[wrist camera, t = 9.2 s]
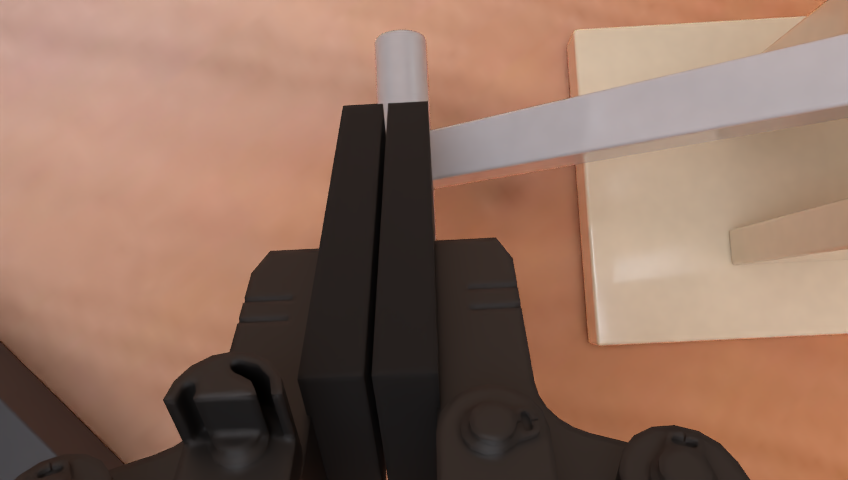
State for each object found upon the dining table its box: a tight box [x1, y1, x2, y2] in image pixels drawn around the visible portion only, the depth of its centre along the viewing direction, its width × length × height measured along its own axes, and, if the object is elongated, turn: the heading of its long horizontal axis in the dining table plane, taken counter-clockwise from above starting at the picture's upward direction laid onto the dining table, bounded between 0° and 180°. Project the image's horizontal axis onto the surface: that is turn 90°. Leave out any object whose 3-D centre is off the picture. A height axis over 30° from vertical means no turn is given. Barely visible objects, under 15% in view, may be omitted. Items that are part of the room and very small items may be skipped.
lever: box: [375, 30, 848, 241], centre depth 11 cm, size 15×6×2 cm
